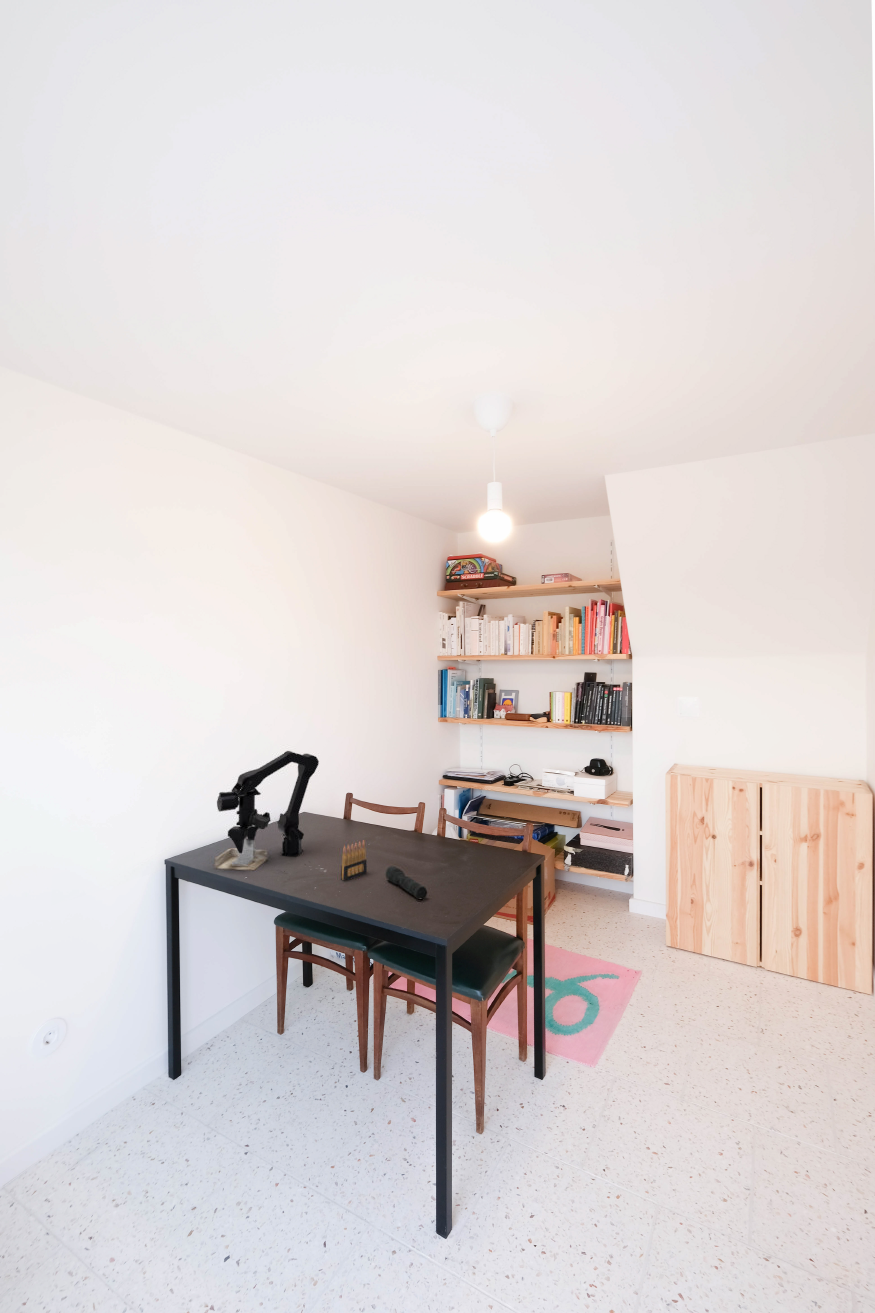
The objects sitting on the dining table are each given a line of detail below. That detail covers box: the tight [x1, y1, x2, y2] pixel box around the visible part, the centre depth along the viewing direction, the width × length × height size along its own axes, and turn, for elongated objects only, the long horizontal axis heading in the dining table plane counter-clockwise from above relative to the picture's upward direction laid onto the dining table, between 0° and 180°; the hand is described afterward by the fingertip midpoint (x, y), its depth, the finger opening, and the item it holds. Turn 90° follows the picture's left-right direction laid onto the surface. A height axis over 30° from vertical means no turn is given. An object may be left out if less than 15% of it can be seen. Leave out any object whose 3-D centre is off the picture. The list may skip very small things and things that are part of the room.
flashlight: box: [385, 865, 428, 900], centre depth 197 cm, size 5×21×5 cm, turn 33°
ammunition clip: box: [340, 839, 368, 882], centre depth 208 cm, size 11×2×12 cm, turn 139°
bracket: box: [232, 838, 256, 867], centre depth 218 cm, size 6×6×8 cm
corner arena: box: [214, 847, 268, 871], centre depth 219 cm, size 15×12×4 cm
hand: (246, 849), depth 220 cm, fingers open, 9 cm apart
